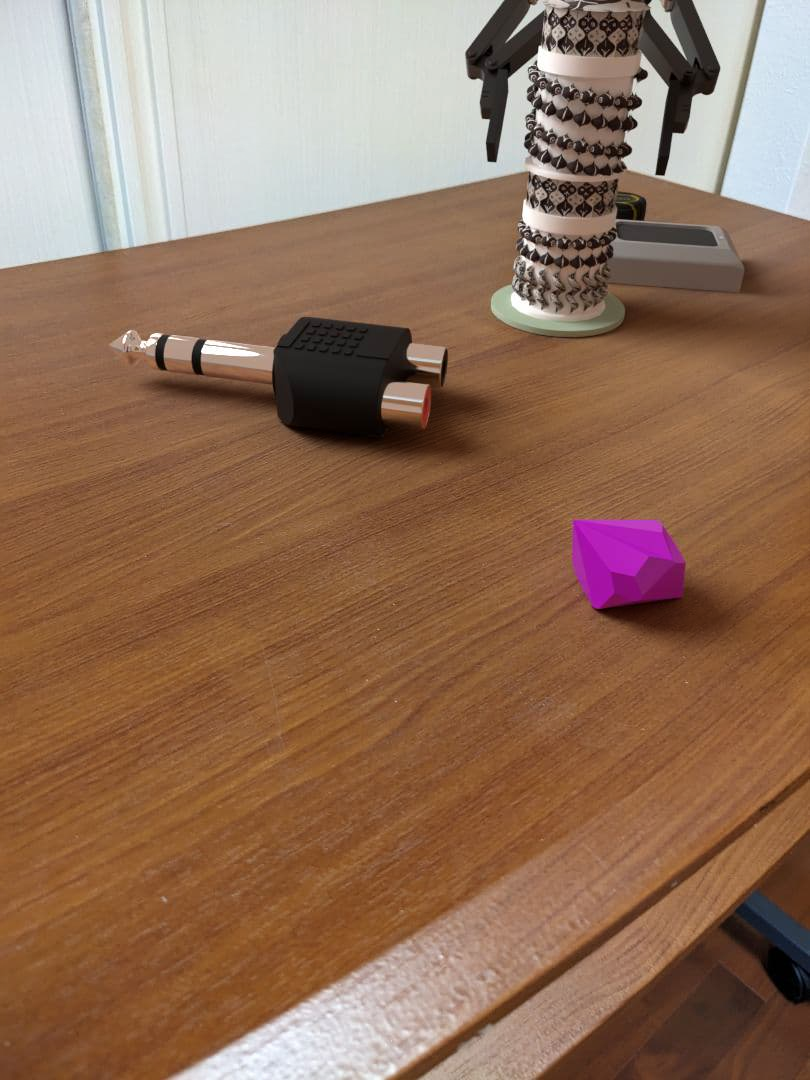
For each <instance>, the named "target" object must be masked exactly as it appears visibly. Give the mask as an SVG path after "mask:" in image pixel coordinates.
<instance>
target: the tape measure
mask: <svg viewBox="0 0 810 1080" xmlns="http://www.w3.org/2000/svg"><path fill="white" fill-rule="evenodd" d="M615 205H616V207H617V214H616V219H620V220H635V221H645V218H646V213H647V199H646V198H645V197H644V196H642V195H639V194H637V193H634V192H633V193H632V192H628V191H621V190H620V191H619V190H618V193H617V197H616V200H615Z"/></svg>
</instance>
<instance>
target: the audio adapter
mask: <svg viewBox="0 0 810 1080" xmlns="http://www.w3.org/2000/svg"><path fill="white" fill-rule="evenodd" d="M107 346H108V349H109V350H110V351H111V352H113V354H115V355H116V356H117V358H119V359H120V360H121V362H122V363H125V365H126V366H128V368H129V367H130V368H134V367H135V366H137V365H138V364H139V362H140V361H141V360H145V362H146V364H147V366H148V367H149V368H150V369H152V370H154V371H161V372H164V371H165V372H170V373H177V374H184V375H192V376H204V377H208V378H209V377H210V378H215V379H224V380H230V381H239V382H247V383H254V384H255V383H256V384H263V385H271V386H272V390H273V394H274V396H275V400H276V412H277V413H276V414H277V418H278V417H279V419H280V420H281V422H282V423H281V422H280V423H281V424H283V425H286V426H294V427H301V428H308V429H316V430H324V431H331V432H338V433H345V434H353V435H359V436H368V437H376V438H383V436H384V435H385V434H386V433H387V430H388V428H389V427H390V426H391V427H398V428H406V429H412V430H420V431H424V430H425V429H426V427H427V425H428V422H429V419H430V412H431V406H432V405H431V404H432V389H436V390H442V389H443V388H444V387H445V384H446V380H447V375H448V368H449V367H448V366H449V348H448V347H447V346H443V345H442V346H441V345H432V344H423V343H416V342H413V335H412V331H411V329H410V328H409V327H402V326H392V325H385V324H384V325H383V324H376V323H366V322H358V321H348V320H341V319H331V318H323V317H313V316H302V317H300V318H299V319H297V321H296V322H295V323H294V324H293V326H291V328H290V329H289V330H288V332H286V333H284V334H282V335H281V336H280V337H279V339H278V342H277V344H276V346H275V347H274V346H266V345H257V344H251V343H250V344H249V343H241V342H233V341H225V340H217V339H205V338H200V337H193V336H184V335H183V336H182V335H175V334H172V335H170V334H166V333H158V332H155V333H153V334H150V336H149V337H148V339H147V340H143V339H142V337H141V335H140V333H139V332H138V331H137V330H134V329H131V330H129V331H127V332H125V333H124V334H122V335H121V336H119V337H117V338H116V339H114V340H112V341H110V342H109V344H108V345H107Z"/></svg>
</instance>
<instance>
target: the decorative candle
mask: <svg viewBox="0 0 810 1080" xmlns="http://www.w3.org/2000/svg"><path fill="white" fill-rule="evenodd" d="M542 4H543V5H544V10H545V13H544V23H543V33H542V44H541V46H539V51H538V53H537V59H535V60H534V62H533V63H532V64H530V65H529V66H528V67H527V74H528V75H527V77H528V80H529V81H530V82H531V83H532V84H531V85H530V86H528V87H527V89H526V97H525V98H526V100H527V102H529V103H530V104H531V107H533V108H532V109H531V112H529V113H527V114H526V115H525V117H524V119H525V120H524V121H525V128H526V129H527V130H528V131H530V132H528V133H526V134H525V135H524V142H523V147H524V148H525V149H526V150H527V153H528V156H526V157H525V158H524V162H523V165H524V168H525V170H526V171H528V177H527V183H526V185H527V186H526V196H525V199H523V206H522V216H521V217H522V219H521V220H519V221H518V223H517V233H518V234H520V236H521V237H519V238H518V239H517V240H516V245H515V250H516V251H517V252H518V254H519V255H518V256H517V257H516V258H515V259H514V262H513V272H514V276H513V277H512V281H511V282H512V283H511V284H512V288H513V290H514V293H513V294H512V295H511V300H512V306H514V307H515V308H516V309H517V310H518V311H520V312H521V313H524V314H526V315H529V316H531V317H534V318H538V319H543V320H548V321H555V322H576V321H584V320H589V319H592V318H594V317H597V316H599V315H601V313H602V312H603V311H604V309H605V303H604V300H603V298H604V297H605V296H607V294H608V293H609V292H608V289H609V285H608V283H606V281H607V280H608V279H609V278H610V277H611V274H610V273H609V272H610V271H611V268H610V266H609V265H608V264H607V261H608V260H609V259H610V258H612V257H613V255H614V253H613V250H614V249H613V246H612V245H610V243H611V242H612V241H614V240H615V239H616V237H617V234H616V232H617V231H616V228H615V227H613V226H614V225H615V221H616V214H617V207H616V205H615V200H616V197H617V193H618V191H619V180H620V178H623V176H625V175H626V174H627V173H628V172H627V171H628V166H627V165H626V163H625V161H624V160H623V159H624V158H626V157H628V156H630V155H631V154H632V153H633V147H632V146H631V145H630V144H628V142H627V141H625V138H626V133H630V131H632V130H635V129H636V128H638V126H639V122H638V121H637V119H635V118H634V117H633V114H632V113H630V112H634V110H637V109H639V108H640V107H641V106H642V104H643V99H642V98H641V97H640V96H638V94H637V92H635V94H634V91H633V86H634V80H635V81H636V84H635V85H636V86H638V85H639V83H640V82H642V81H644V80H646V79H647V78H648V77H649V72H648V71H647V70H646V69H644V68H642V67H641V62H642V55H643V53H642V52H641V51H640V46H639V45H640V40H641V37H642V34H643V19H644V16H645V13H646V10H649V9H650V10H651V9H652V7H651V6H650V5H645V3H644V1H643V0H544V1H542ZM536 95H537V96H536Z"/></svg>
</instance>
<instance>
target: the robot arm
mask: <svg viewBox="0 0 810 1080" xmlns="http://www.w3.org/2000/svg"><path fill="white" fill-rule="evenodd" d="M643 1H644V3H645V5H648V6H650V4H651V3H652V1H653V0H643ZM658 1H659V2H660V4H661V7H662V8H663V11H664V12H665V13H667V14H669V16H670V22H671V25H672V28H673V30H674V32H675V35H676V37H677V40H678V42H679V44H680V47H681V50H682V52H683V53H682V52H681V51H680V50H679V48H678V47H677V46H676V45H675V43H674V42H673V41H672V39H671V38H670V37H669V36H668V34H667V33H666V32H665V31H664V29H663V28H662V26H661V25H660V24H659V22H658V21H657V20H656V19H655V17H653V15H652V13H651V9H649V10H646V13H645V16H644V19H643V34H642V37H641V40H640V45H639V46H640V51H641V52H642V55H643V56H644V57H645V59H646V60H647V62H648V63H649V64H650V65H651V66H652V68H653V69H654V71H655V72H656V73H657V75H658V76H659V78H660V79H662V81H663V82H664V84H665V85H666V86H667V87H668V89H667V94H666V97H665V98H666V99H665V103H664V109H663V116H662V124H661V131H660V137H659V138H660V139H659V144H658V145H659V146H658V153H657V158H656V167H655V172H654V175H655V176H660V177H663V176H664V177H665V175H666V172H667V168H668V163H669V160H670V155H671V149H672V141H673V135H674V134H682V135H683V134H685V132H686V131H687V129H688V125H689V121H690V118H691V110H692V103H693V98H694V97H695V96H697V95H699V94H700V95H701V94H702V95H704V96H710V95H712V94H713V93H714V92H715V90H716V86H717V83H718V79H719V76H720V72H721V65H720V62H719V60H718V57H717V55H716V52H715V51H714V48H713V46H712V44H711V41H710V39H709V36H708V34H707V31H706V29H705V26H704V24H703V23H702V20H701V18H700V15H699V12H698V10H697V7H696V6H695V4H694V1H693V0H658ZM538 2H539V0H503V1H502V2H501V4H500V5H499V7H498V8H497V9H496V10H495V12H494V13H493V15H492V16H491V17H490V18H489V20H488V21H487V22H486V24H485V25H484V26H483V28H482V29H481V30H480V32H479V33H478V34H477V35H476V37H475V38H474V40H473V41H472V42H471V44H470V45H469V46H468V48H467V49H466V50H465V53H464V57H465V66H466V67H465V68H466V75H467V78H468V79H469V80H472V81H475V80H480V81H482V86H481V92H480V97H479V109H480V110H479V113H480V118H481V120H489V122H488V127H487V133H486V140H485V150H486V160H487V163H498V162H497V161H498V155H499V151H500V150H499V149H500V143H501V139H502V134H503V133H502V132H503V127H504V120H505V114H506V110H507V102H508V97H509V78H511V77H512V76H513V75H514V74H516V73H517V72H518V71H519V70H520V69H521V68H522V67H524V66H525V65H526V64H527V63H528V62H529V61H531V60H532V59H534V58H535V56H536V55H538V51H539V46H541V44H542V33H543V23H544V13H545V9H543V10H542V11H541V12H540V13H539V14H538V15H536V17H534V18H533V19H532V20H530V22H528V23H527V24H526V25H524V27H522V28H521V29H520V30H519V31H518V32H516V33H515V34H514V32H515V31H516V29H517V28H518V27H519V26H520V24H521V23H522V22H523V20H524V19H525V17H526V16H527V14H528V13H529V11H530V8H531V6H536V5H537V4H538ZM512 34H514V35H513V36H512ZM511 36H512V37H511ZM510 37H511V38H510ZM683 54H684V55H683Z"/></svg>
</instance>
